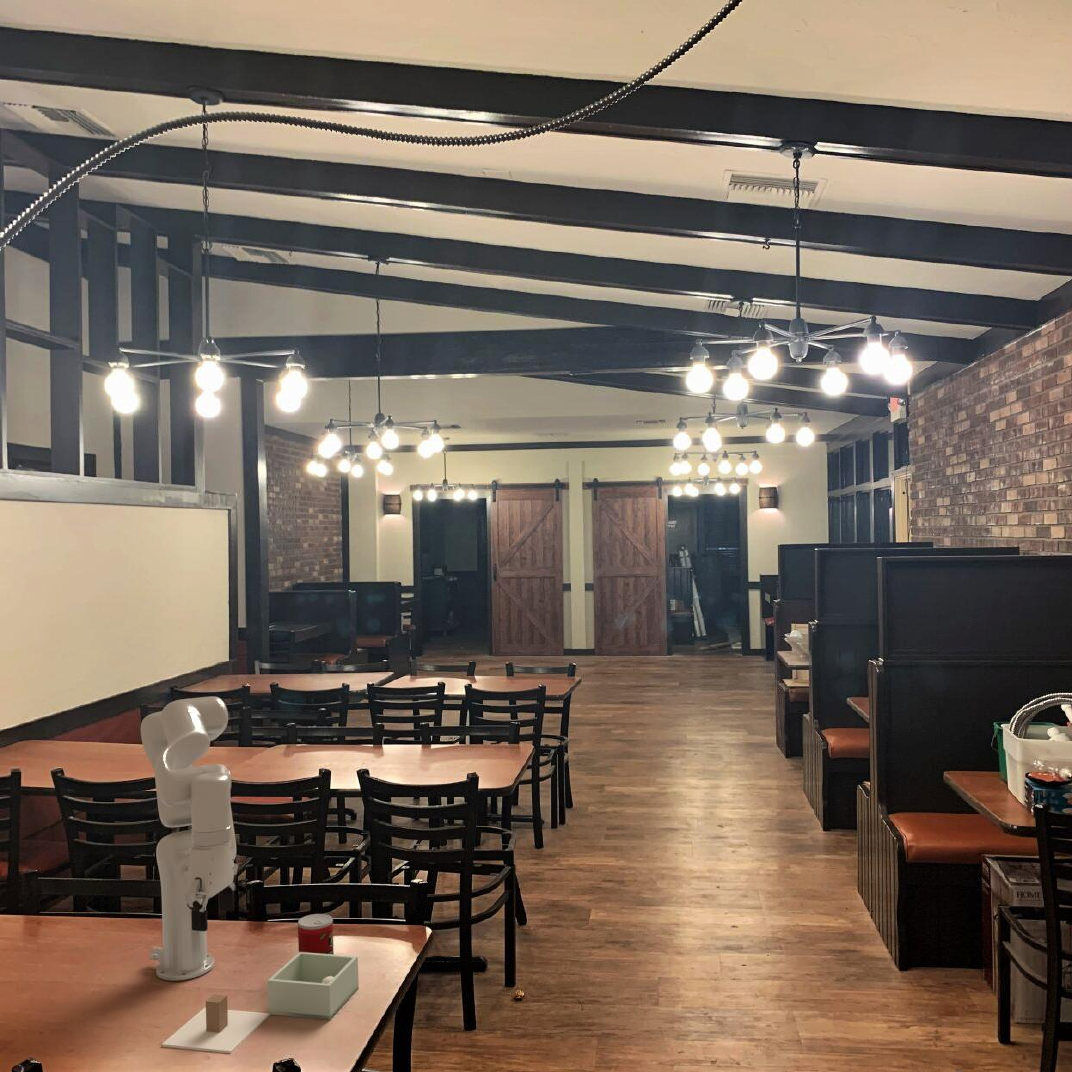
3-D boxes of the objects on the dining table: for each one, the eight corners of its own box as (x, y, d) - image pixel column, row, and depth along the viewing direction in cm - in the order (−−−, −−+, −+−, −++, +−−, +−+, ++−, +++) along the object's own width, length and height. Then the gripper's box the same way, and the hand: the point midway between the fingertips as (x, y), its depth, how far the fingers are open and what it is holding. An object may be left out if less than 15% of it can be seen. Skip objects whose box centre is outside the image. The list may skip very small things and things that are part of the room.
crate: (268, 1014, 199) (267, 980, 199) (300, 983, 213) (299, 951, 213) (330, 1020, 196) (329, 985, 196) (358, 988, 209) (357, 956, 209)
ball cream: (318, 997, 204) (317, 980, 204) (325, 989, 208) (325, 972, 208) (333, 998, 203) (333, 981, 203) (340, 990, 207) (340, 974, 207)
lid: (161, 1049, 187) (161, 1013, 187) (204, 1012, 202) (203, 979, 202) (231, 1056, 184) (230, 1019, 184) (269, 1018, 199) (268, 984, 199)
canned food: (325, 976, 216) (324, 927, 216) (293, 974, 218) (291, 925, 218) (339, 961, 223) (338, 914, 224) (307, 959, 225) (306, 912, 225)
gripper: (218, 821, 202) (220, 902, 203) (169, 849, 186) (171, 936, 186) (250, 823, 201) (252, 904, 201) (203, 851, 184) (205, 940, 184)
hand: (213, 920), depth 193 cm, fingers open, 9 cm apart
